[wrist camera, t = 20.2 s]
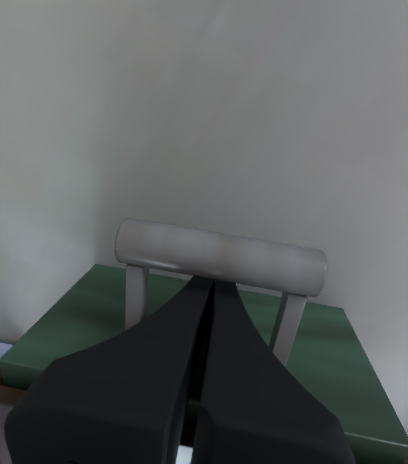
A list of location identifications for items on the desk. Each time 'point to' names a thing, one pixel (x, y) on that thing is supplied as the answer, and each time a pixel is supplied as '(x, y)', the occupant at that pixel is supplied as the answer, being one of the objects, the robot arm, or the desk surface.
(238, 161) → the desk surface
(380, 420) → the drawer
